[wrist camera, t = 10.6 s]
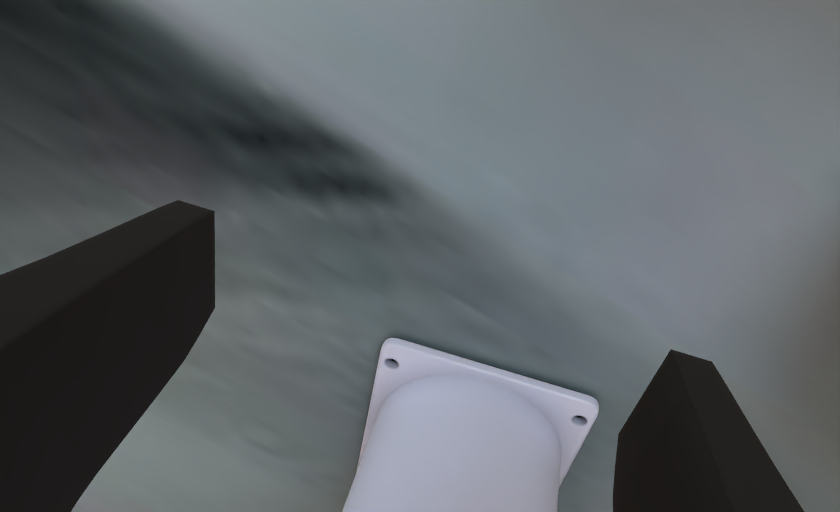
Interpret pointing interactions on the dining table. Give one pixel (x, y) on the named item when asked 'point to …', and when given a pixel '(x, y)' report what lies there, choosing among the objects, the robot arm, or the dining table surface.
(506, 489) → the robot arm
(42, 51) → the dining table surface
